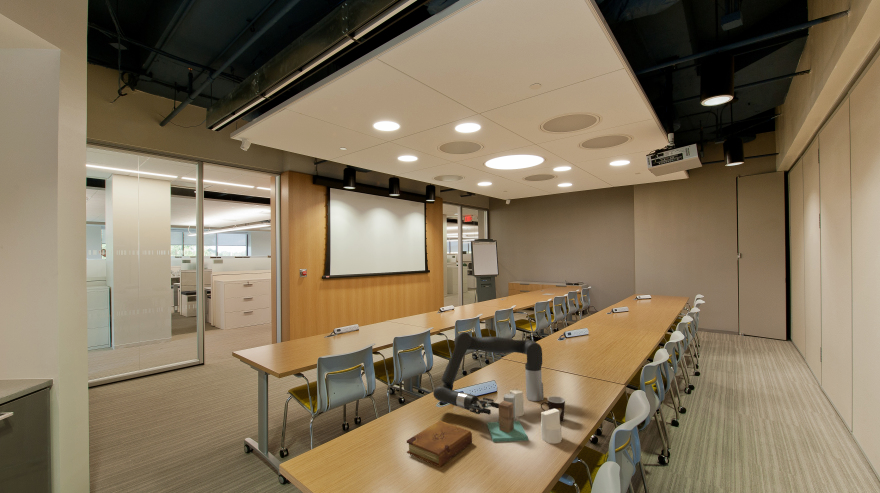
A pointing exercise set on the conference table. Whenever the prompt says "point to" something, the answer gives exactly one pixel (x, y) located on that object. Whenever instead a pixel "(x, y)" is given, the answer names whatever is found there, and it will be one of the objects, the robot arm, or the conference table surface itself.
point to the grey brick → (510, 399)
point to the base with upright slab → (551, 426)
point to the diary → (439, 443)
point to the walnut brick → (506, 416)
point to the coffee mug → (556, 405)
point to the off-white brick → (518, 402)
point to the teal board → (514, 435)
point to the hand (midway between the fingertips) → (494, 409)
